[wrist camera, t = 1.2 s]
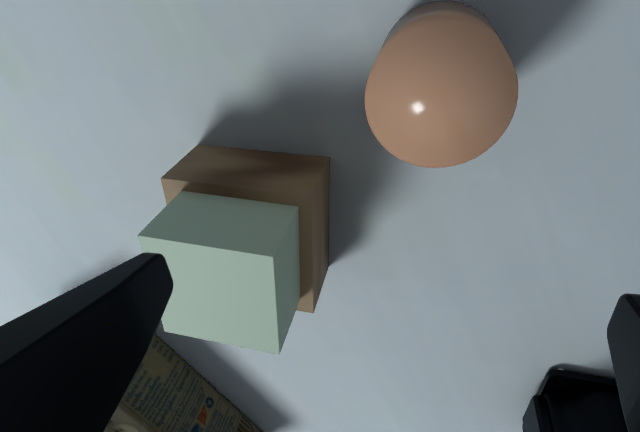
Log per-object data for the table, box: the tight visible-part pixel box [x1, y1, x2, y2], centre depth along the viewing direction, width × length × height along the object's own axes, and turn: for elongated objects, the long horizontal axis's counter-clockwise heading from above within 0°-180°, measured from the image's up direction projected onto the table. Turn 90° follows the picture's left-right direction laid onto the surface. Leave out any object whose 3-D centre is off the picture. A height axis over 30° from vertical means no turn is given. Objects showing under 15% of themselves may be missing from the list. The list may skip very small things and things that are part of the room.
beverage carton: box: [104, 334, 261, 432], centre depth 33 cm, size 8×19×7 cm, turn 37°
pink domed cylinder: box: [365, 1, 518, 168], centre depth 16 cm, size 5×5×4 cm
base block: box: [161, 145, 330, 313], centre depth 22 cm, size 7×7×4 cm
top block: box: [137, 191, 300, 355], centre depth 19 cm, size 6×6×4 cm
